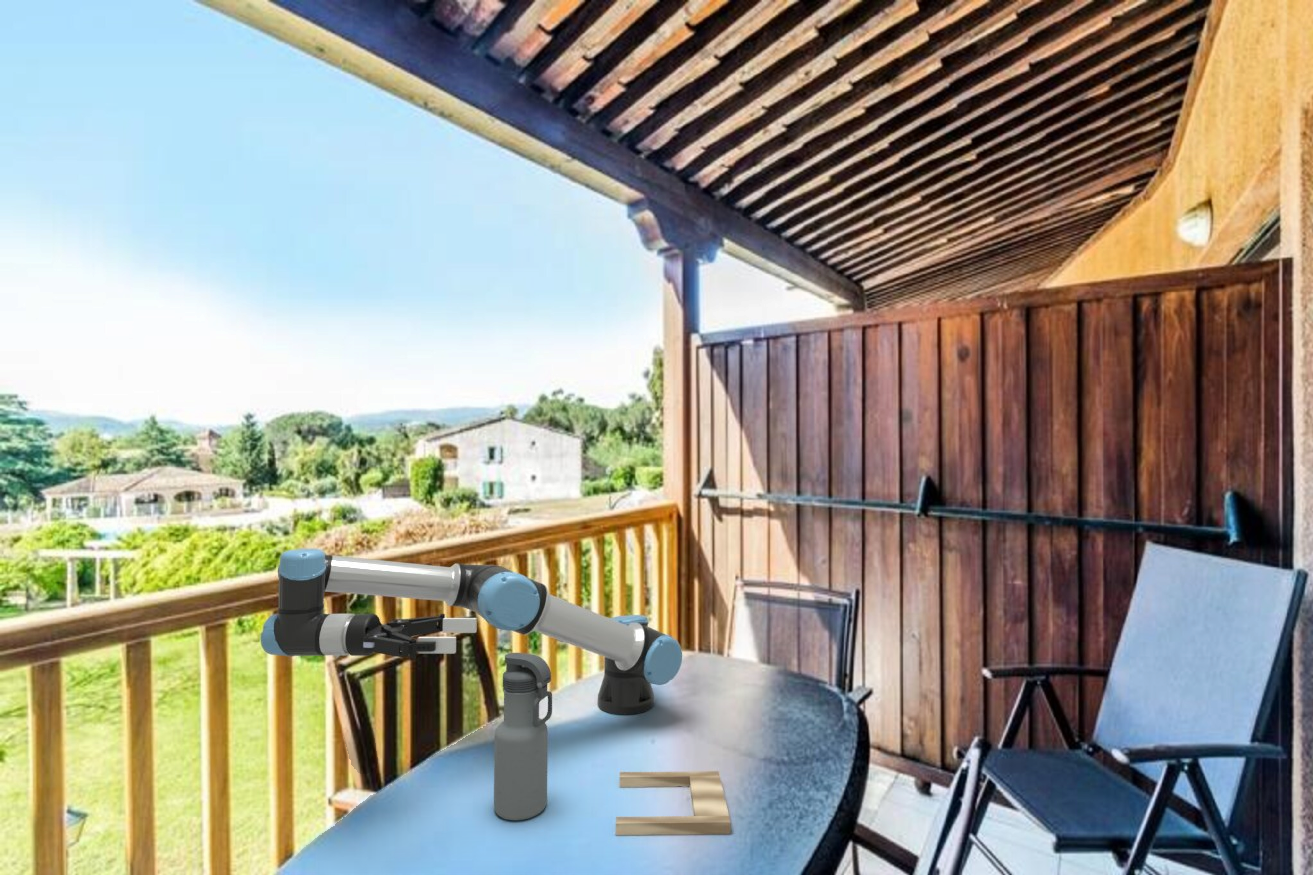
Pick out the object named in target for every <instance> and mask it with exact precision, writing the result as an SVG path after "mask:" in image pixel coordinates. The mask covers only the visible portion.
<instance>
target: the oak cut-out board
mask: <svg viewBox="0 0 1313 875" xmlns="http://www.w3.org/2000/svg"><path fill="white" fill-rule="evenodd" d="M674 786H690V787H689V791H690V797H691V799H692V800H691V805H692V806H693V807H692V806H691V807H692V814H693V815H691V816H690V815H688V816H687V815H680V816H679V815H676V816H674V815H673V816H670V815H669V816H668V815H667V816H664V815H663V816H616V817H615V836H666V835H667V836H674V835H678V836H679V835H683V836H685V835H732V834H731V833H732V832H731V829H732V828H731V823H732V822H731V816H730V813H729V809H728V806H727V801H726V796H725V793H724V792H725V791H724V788H723V784H722V780H721V776H720V772H719V771H718V770H711V771H709V770H708V771H705V770H703V771H700V770H698V771H689V770H688V771H620V772H619V788H675V787H674Z"/></svg>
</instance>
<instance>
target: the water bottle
mask: <svg viewBox="0 0 1313 875" xmlns="http://www.w3.org/2000/svg"><path fill="white" fill-rule="evenodd" d="M504 663H505V664H506V666H505V667H506V670H505V671H504V672H503V673H502V692H503V720H502V722H500V723H498V725H497V727H496V728H495V732H494V746H493V747H494V750H493V751H494V754H493V756H494V759H493V760H494V761H493V765H494V766H493V768H494V770H493V771H494V772H493V775H494V776H493V777H494V778H493V808H494V812H495V813H496V815H497V816H499V817H500V818H502V819H503V820H508V821H524V820H527V819H531V818H533V817H536V816H537V815H539V814H540V813H541V812H543V810H545V808H546V807H547V804H548V746H549V745H548V739H549V738H548V736H549V735H548V734H549V733H548V726H547V721H549V720H550V719H551V717H552V715H553V692H552V691H549V690H548V685H549V683H551V681H552V671H551V668H550V667H549V665H548V663H547V662H546V660H545V659H544V658H542V657H541V656H540V655H539V656H538V655H537V654H532V653H531V654H530V653H525V652H524V653H523V652H511V653H507V654H505V655H504ZM546 697H547V712H546V715H545V716H544V717H543V718H540V702H541V701H543V700H544V699H545V698H546Z"/></svg>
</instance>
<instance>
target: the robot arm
mask: <svg viewBox="0 0 1313 875" xmlns="http://www.w3.org/2000/svg"><path fill="white" fill-rule="evenodd" d="M277 576H278V607H277V610H278V611H277V613H274V614H272V615H269V617H268V618H267V619H266V621H265V622H264V623H263V625H262V628H263V629H262V631H261V634H260V644H261V647H262V649H263V651H265V653H267V654H268V655H271V656H272V655H273V656H284V657H302V656H303V657H305V656H307V657H308V656H313V657H314V656H324V657H325V656H333V658H334V659H339V658H340V656H351V657H360V656H361V657H363V656H364V657H365V656H367V657H368V656H371V655H373V654H374V653H376V654H382V655H387V656H392V657H398V658H401V659H405V658H408V657H409V659H410V660H413V659H416V658H417V654H449V655H450V654H451V655H452V654H456V653H457V636H421V635H426V634H433V633H437V632H442V633H443V634H445V633H446V634H448V633H449V634H451V633H452V634H453V633H454V634H457V633H459V634H476V633H477V629H478V625H477V623H478V619H477V617H446V614H445V613H440V615H432V616H422V617H412V618H403V619H402V618H399V619H398V618H394V619H392V620H391V621H388V622H386V623H385V624H383V623H381V620H380V618H379V616H378V615H377V614H375V613H356V614H355V613H325V612H324V611H325V610H324V607H325V603H324V601H325V600H324V599H325V593H326V592H328V593H329V592H330V593H340V594H352V595H353V594H354V595H365V596H377V597H378V596H380V597H390V598H391V597H392V598H403V599H405V598H406V599H413V600H415V599H416V600H417V599H418V600H427V601H428V600H429V601H441V602H445V604H447V606H449V607H459V608H463V609H467V610H470V611H472V612H474V613H476V614H477V615H479V616H480V617H481V618H483V619H484V620H485V621H486V623H488V624H489V625H491V627H493V628H496V629H498V630H501V631H508V632H510V631H512V632H515V633H518V634H520V635H523V636H527V635H529V634H531V633H532V632H536V633H539V634H542V635H544V636H546V637H549V638H553V639H556V640H558V641H561V642H563V643H566V644H569V645H571V646H574V647H577V648H580V649H582V650H585V651H588V652H591V653H593V654H595V655H596V654H597V655H598V656H601V657H604V658H603V659H604V661H603V662H604V663H603V664H604V665H603V666H604V670H603V671H604V672H603V673H604V675H603V679H602V681H601V685H600V686H599V687H600V689H599V692H598V693H597V694H598V695H597V707H598V708H599V709H600V710H601V711H604V712H606V713H609V714H613V715H635V714H637V715H638V714H641V713H644V712H647V711H649V710H650V709H652V708H653V707H654V705H655V693H654V690H653V686H652V685H656V686H663V685H667V684H668V683H669V682H670V681H672V680H673V679H675V677H676V676H677V675H678V673H679V671H680V669H681V667H682V663H683V651H682V647H681V645H680V644H681V643H679V641H677V639H675V638H674V637H673V636H672V635H670V634H665V633H663V632H661V631H658V630H656V629H654V628H652V627H649V621H648V617H647V616H646V615H642V614H629V615H619V616H618V615H617V616H613V617H610V618H609V617H607V616H605V615H602V614H599V613H597V612H594V611H592V610H589V609H586V608H584V607H582V606H579V605H577V604H575V603H572V602H569V601H567V600H565V599H562V598H560V597H557V596H555V595H552V594H550V593H549V590H548V587H547V586H546V585H545V584H544V583H542V582H539V581H536V580H534V579H531V578H529V577H527V576H525V575H523V574H521V573H519V572H516V571H515V572H514V571H512V570H510V569H508V568H506V567H505V566H501V565H495V564H465V563H454V564H453V565H452V566H450V567H449V566H440V565H429V564H420V563H410V562H402V561H393V560H392V561H391V560H382V559H370V558H361V557H352V556H343V555H334V554H333V555H331V554H330V555H329V554H326V553H325V551H324V550H322V549H318V548H298V549H297V548H296V549H289V550H287V551H284V552H282V553H281V554H280V558H279V565H278V568H277ZM415 636H418V637H417V638H414V637H415Z"/></svg>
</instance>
